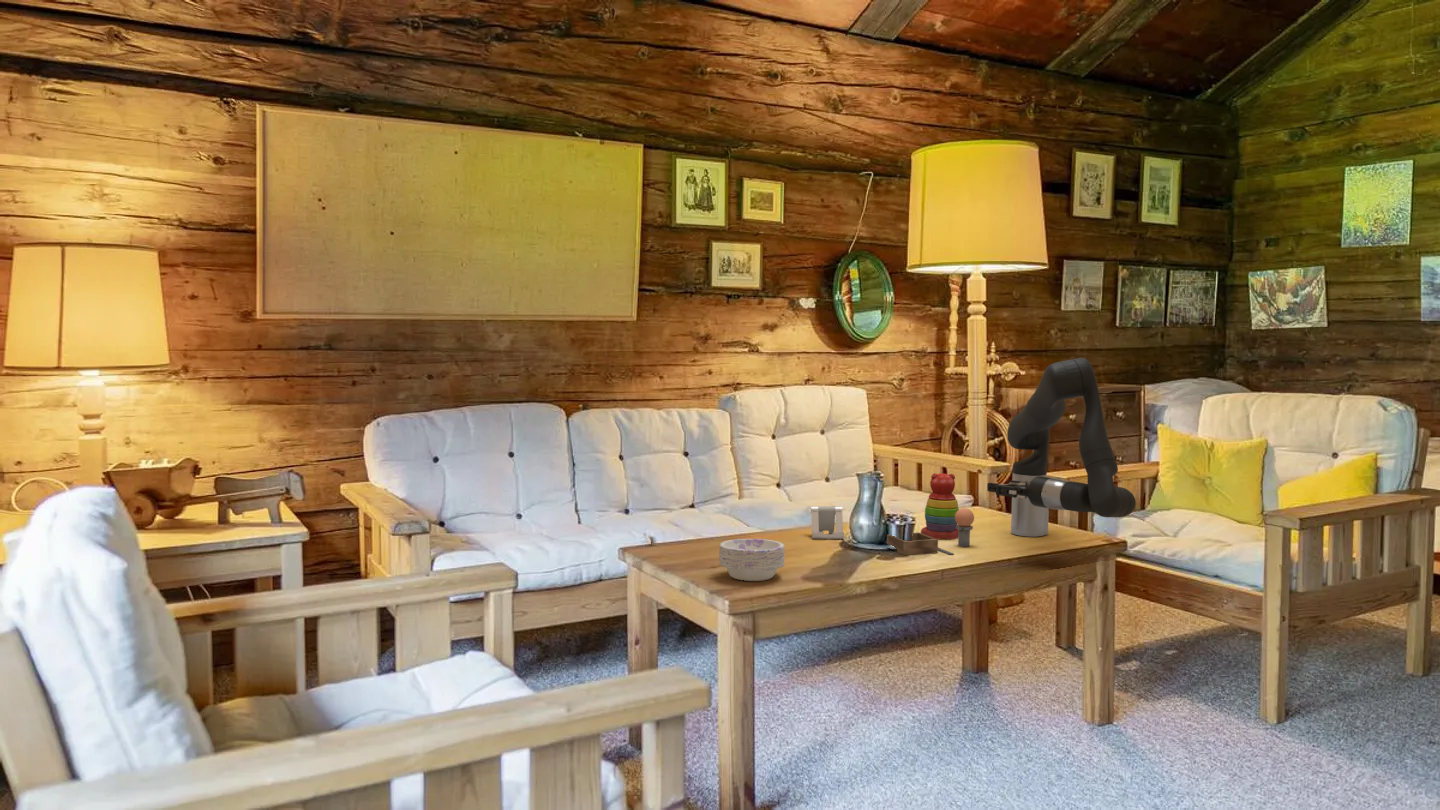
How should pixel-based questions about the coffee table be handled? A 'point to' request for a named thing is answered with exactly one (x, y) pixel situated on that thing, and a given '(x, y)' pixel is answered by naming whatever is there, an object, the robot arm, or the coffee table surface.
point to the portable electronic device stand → (827, 522)
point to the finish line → (945, 551)
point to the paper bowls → (751, 558)
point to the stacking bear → (941, 508)
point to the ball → (964, 517)
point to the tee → (964, 535)
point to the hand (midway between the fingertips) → (999, 485)
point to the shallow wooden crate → (914, 544)
